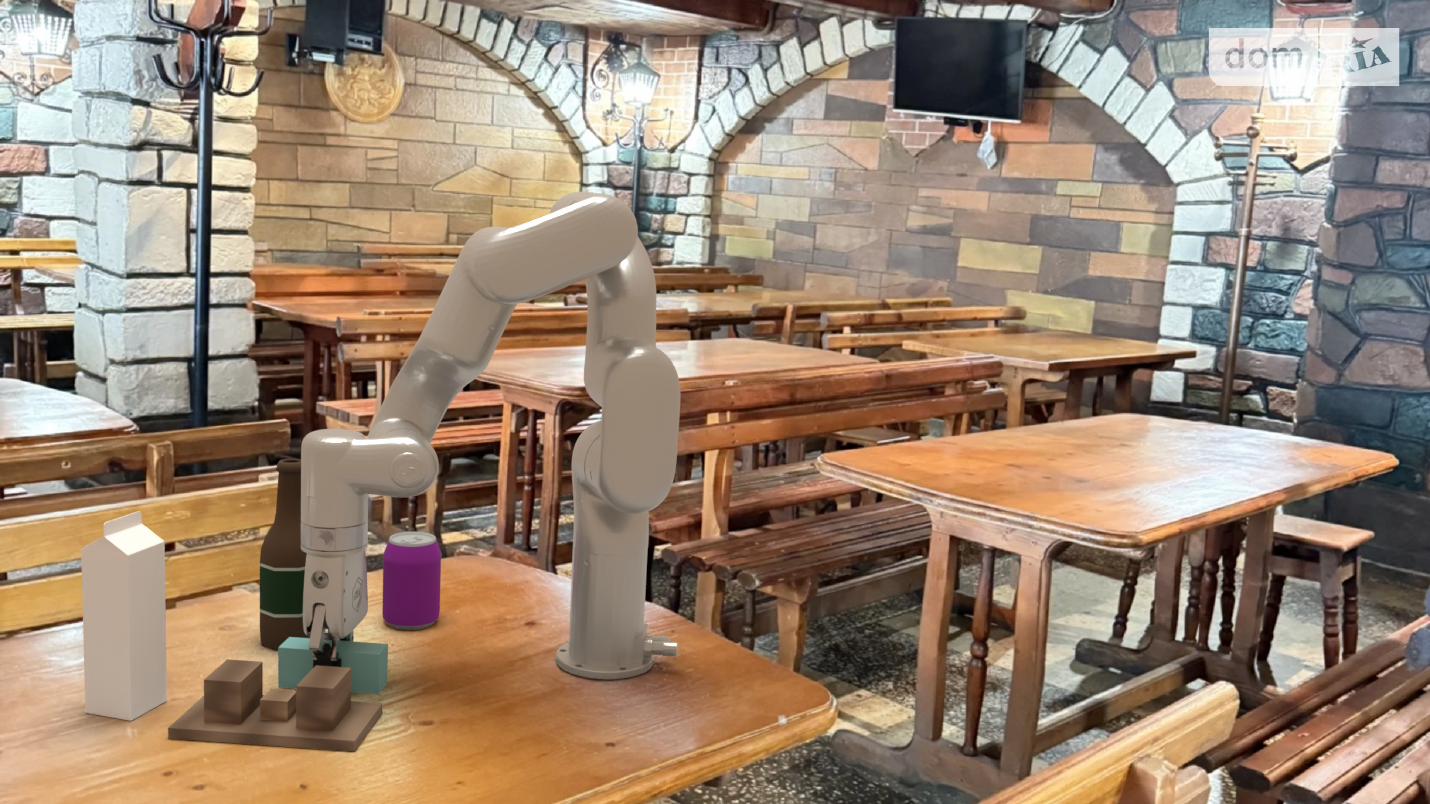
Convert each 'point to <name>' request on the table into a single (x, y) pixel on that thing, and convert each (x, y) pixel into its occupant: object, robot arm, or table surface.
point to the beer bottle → (283, 563)
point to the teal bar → (358, 656)
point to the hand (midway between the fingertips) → (333, 682)
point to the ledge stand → (278, 710)
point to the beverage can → (411, 580)
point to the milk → (124, 620)
